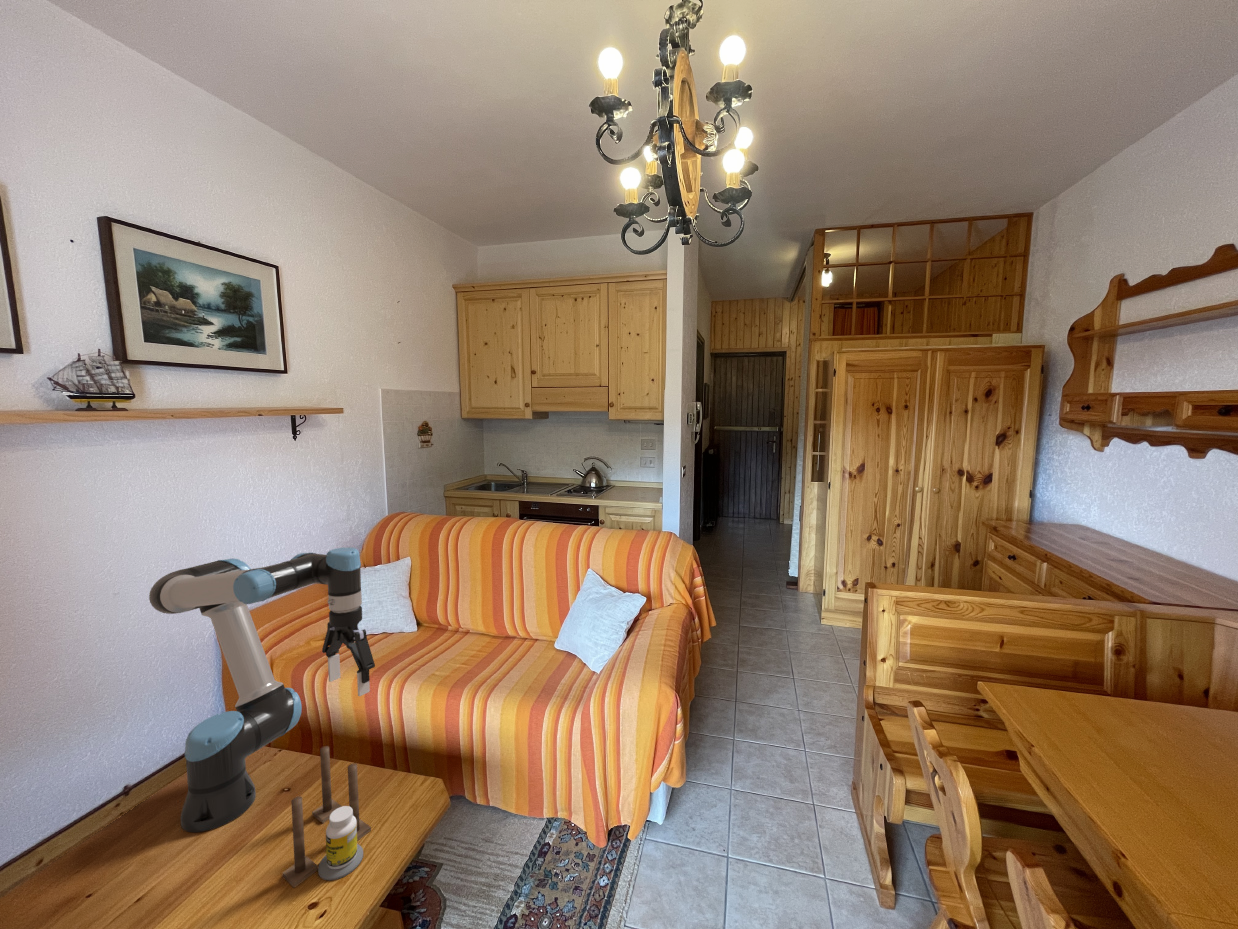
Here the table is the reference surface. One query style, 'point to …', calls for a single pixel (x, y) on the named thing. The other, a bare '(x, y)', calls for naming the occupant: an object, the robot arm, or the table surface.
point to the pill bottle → (341, 838)
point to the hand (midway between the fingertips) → (348, 686)
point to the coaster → (335, 874)
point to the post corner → (356, 801)
